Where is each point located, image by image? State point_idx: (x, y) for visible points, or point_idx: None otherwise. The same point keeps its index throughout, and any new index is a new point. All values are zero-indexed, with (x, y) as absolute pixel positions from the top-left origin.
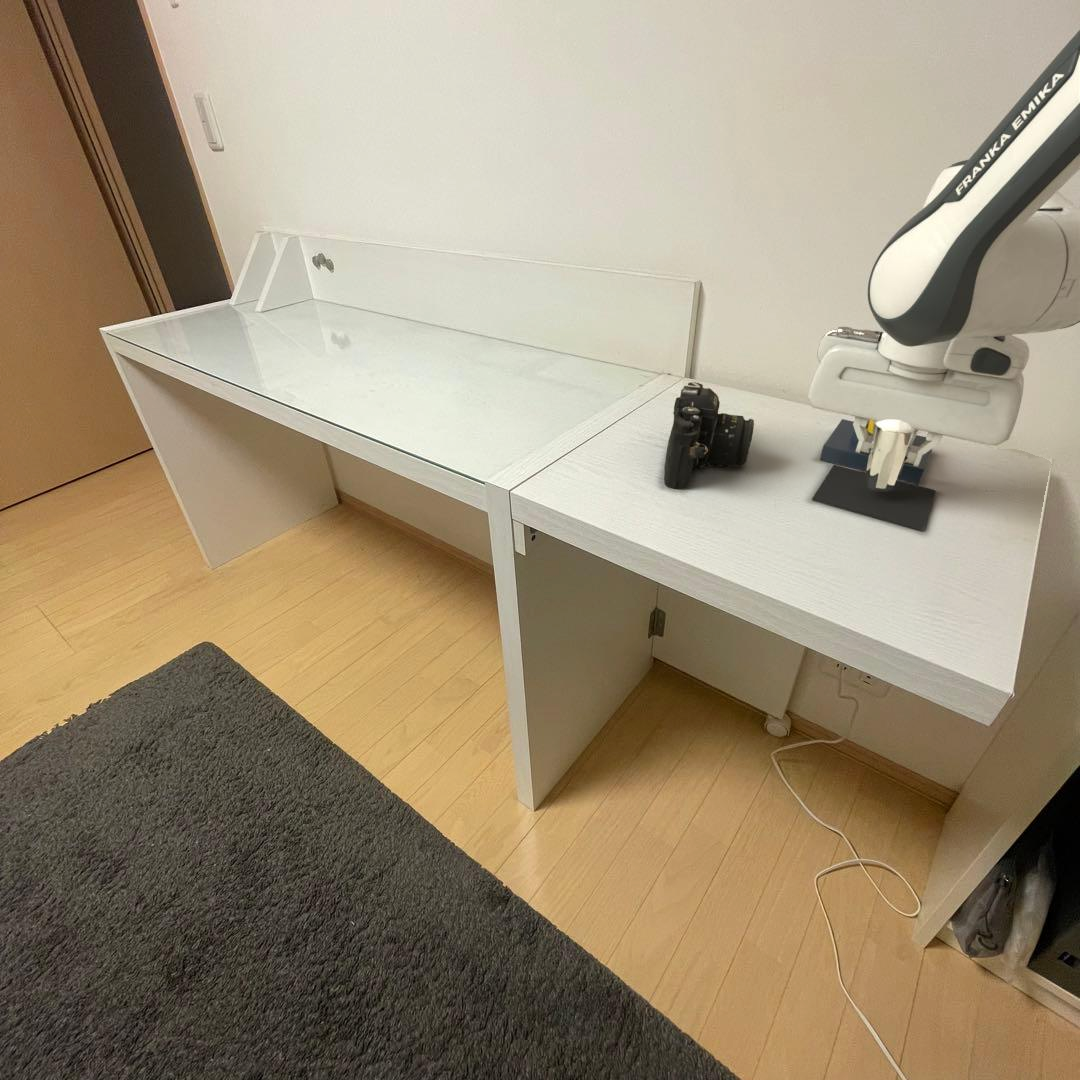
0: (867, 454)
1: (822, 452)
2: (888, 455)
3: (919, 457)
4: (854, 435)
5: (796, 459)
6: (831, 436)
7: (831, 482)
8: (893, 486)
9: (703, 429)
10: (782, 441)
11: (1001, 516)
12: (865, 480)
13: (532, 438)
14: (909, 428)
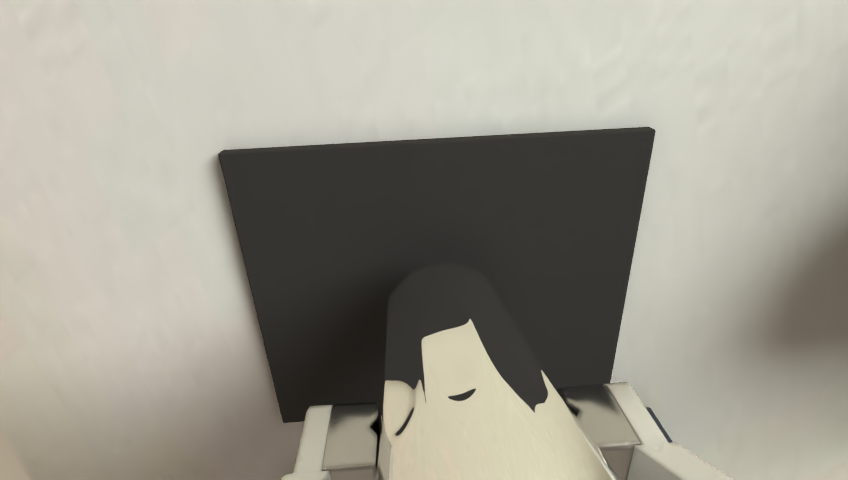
0: (565, 387)
1: (663, 431)
2: (469, 379)
3: (308, 448)
4: None
5: (723, 374)
6: None
7: (599, 286)
8: (388, 306)
9: None
10: (772, 447)
11: (75, 396)
12: (500, 299)
13: None
14: None
